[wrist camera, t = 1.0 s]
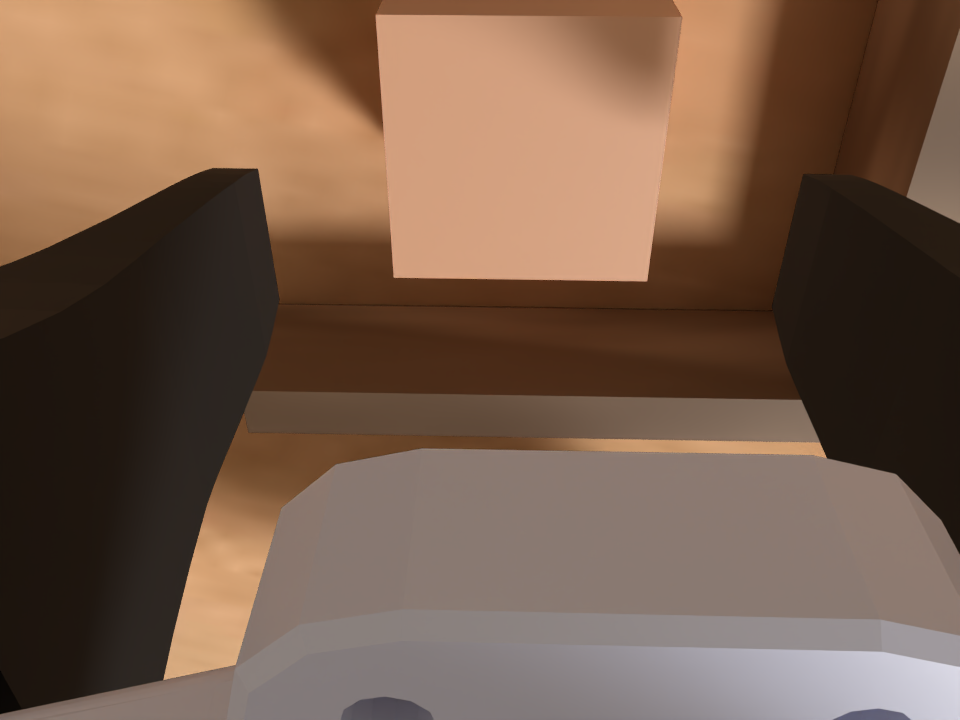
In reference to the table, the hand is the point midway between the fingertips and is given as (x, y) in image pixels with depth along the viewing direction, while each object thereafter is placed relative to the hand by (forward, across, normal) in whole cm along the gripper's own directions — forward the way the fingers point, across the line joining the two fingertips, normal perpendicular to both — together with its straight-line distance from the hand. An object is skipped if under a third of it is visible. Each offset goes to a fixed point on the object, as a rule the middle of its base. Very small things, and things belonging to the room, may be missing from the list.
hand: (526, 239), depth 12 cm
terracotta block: (+8, 0, 0) cm, 8 cm away
